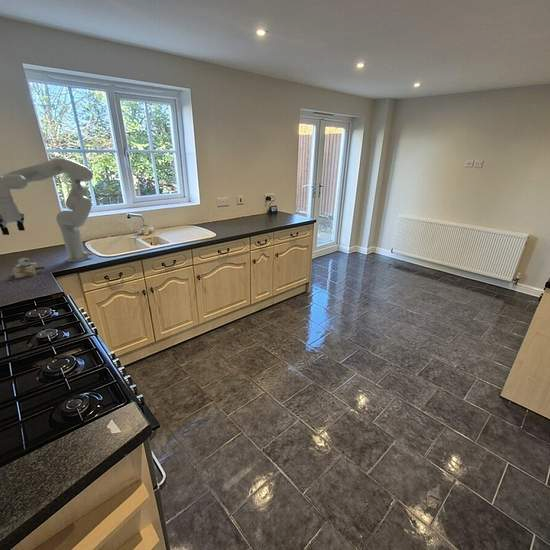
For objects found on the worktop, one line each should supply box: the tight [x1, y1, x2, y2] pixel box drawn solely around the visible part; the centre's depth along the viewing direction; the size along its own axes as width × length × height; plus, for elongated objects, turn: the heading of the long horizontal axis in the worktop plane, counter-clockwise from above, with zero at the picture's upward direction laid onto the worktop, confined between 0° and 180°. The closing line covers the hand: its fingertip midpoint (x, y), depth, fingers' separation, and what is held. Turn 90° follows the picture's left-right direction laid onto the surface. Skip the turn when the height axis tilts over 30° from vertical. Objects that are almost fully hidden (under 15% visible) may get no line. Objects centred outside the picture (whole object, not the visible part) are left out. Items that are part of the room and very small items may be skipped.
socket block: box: [12, 262, 46, 279], centre depth 171 cm, size 13×9×5 cm
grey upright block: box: [17, 257, 31, 268], centre depth 170 cm, size 3×6×9 cm, turn 85°
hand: (14, 232), depth 163 cm, fingers open, 9 cm apart
